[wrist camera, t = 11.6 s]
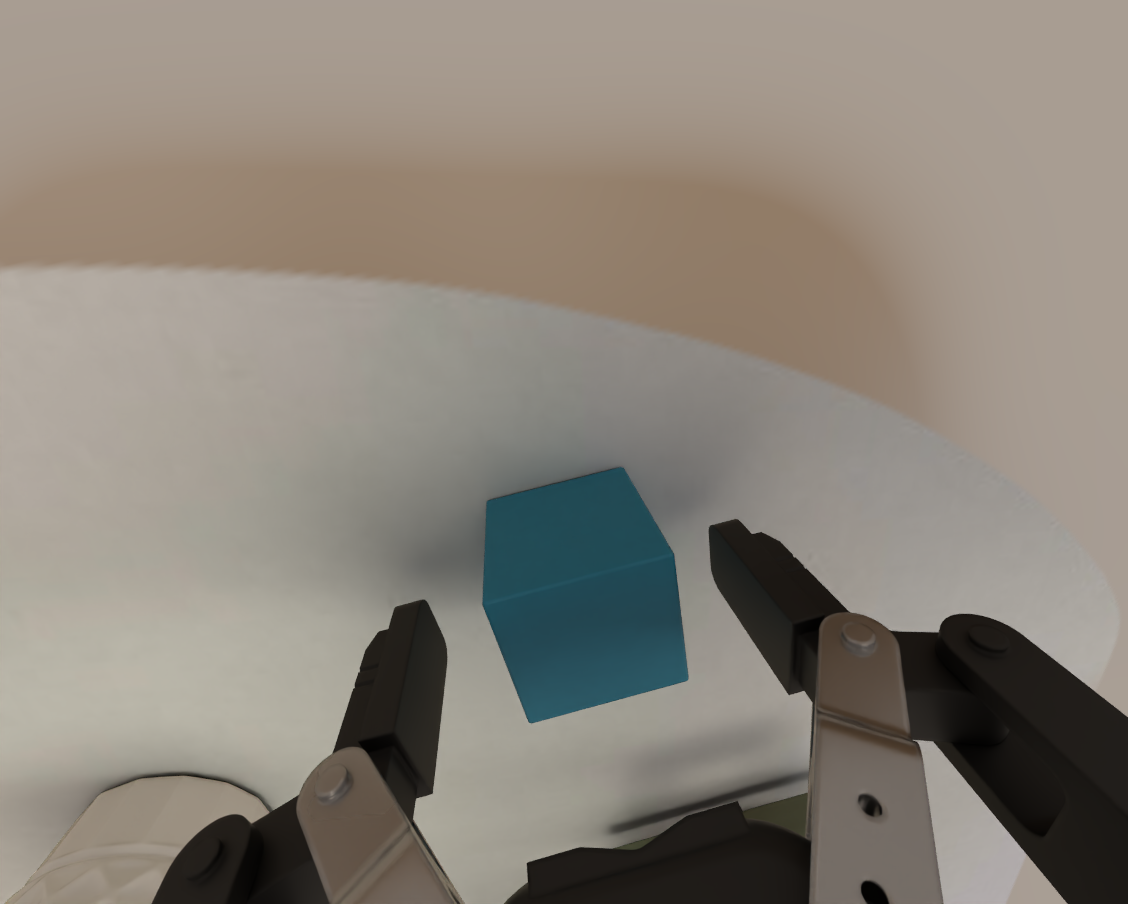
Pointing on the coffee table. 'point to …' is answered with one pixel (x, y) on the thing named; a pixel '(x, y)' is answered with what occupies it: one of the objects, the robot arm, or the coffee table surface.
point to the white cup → (132, 840)
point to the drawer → (765, 817)
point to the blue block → (582, 595)
